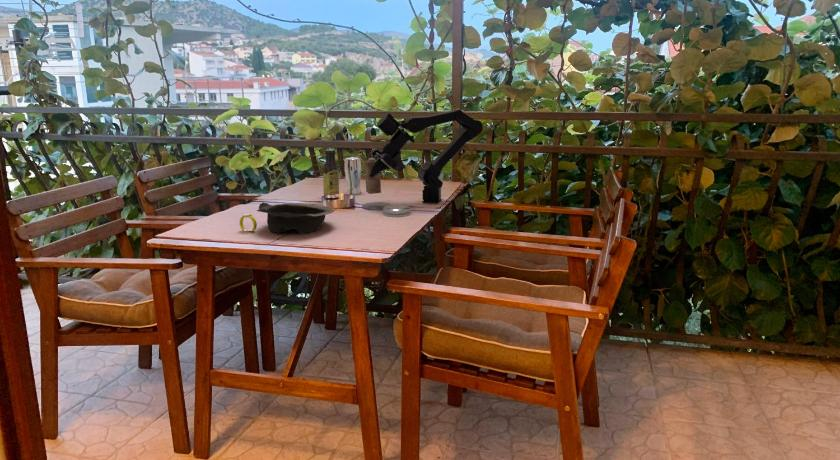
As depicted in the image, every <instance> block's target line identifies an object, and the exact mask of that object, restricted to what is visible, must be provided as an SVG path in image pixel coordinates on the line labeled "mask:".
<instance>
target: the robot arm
mask: <svg viewBox="0 0 840 460" xmlns="http://www.w3.org/2000/svg"><path fill="white" fill-rule="evenodd" d="M450 122H456V123H457V124H459V125H460V129H459V131H458V133H457V135H456V136H455V137H454V138H453V140H452V141H451V142H449V144H448V145H447V146H446V147H445V148H444V149H443V150H442V151H441V152H440V154H439V155H437V156H436V158H434V160H432V161H428V160H426V161H425V162H424V163H423V164H422V166H420V167H419V171H418V173H417V174H418V175H417V176H418V179H419V180H420V181H421V182H422V185H423V189H422V203H426V204H439V203H440V202H442V201H443V198H442V187H443V185H444V182H443V181H442V180H441V179H440V178H439V177H440V176H441V174H442V171H443V169H444V168H445V167H446V165H447V164H448V163H449V162H450V161H451V160H452V159H453V157H455V155H457V154H458V152H459V151H461V149H462V148H463V147H464V146H465V145H466V144H467V142H469V141H472V140H474V139H475V138H476V137H478V136H479V135H481V134H482V133H483V130H484V125H483V123H482V122H481V120H479V119H474V118H472V117H471V116H470V115H469V114H468V115H467V114H466V113H465V112H464V111H462V110H461V109H456V108H455V109H452V110H448V111H444V112H439V113H436V114H431V115H426V116H425V115H423V116H417V115H415V116H407V117H405V118H404V120H399V121H397V119H395V117H394V116H393V115H392V114H391V113H389V112H387V113H386V114H385V115H383V116H382V117H381V118H379V120H377V123H376V125H375V126H376V127H377V129H379V130H380V131H381V132H382V133H383V134H384V135H385V136H386V137H389V136H391V137H390V139H389V140H386V141H385V142H384V143H385V144H384V146H383V147H382V148H379V149H378V148H373V149H372V150H370V152H369V153H370V154H371V155H370V156H371V157H370V158H375V160H376V162H375V164H374V166H373V169H372V171H371V174H370V176H371V177H373V176H375V175H376V174H378V173H379V172H380V173H381V172H382V171H384V170H391V169H393V170H395V171H396V172H398V173H399V172H402V171H403V170H405V169H406V166H405V164H404V162H403V159H402V158H401V154H402V152H401V150H402V149H403V148H404V147H405V146H406V144H407V143H408V142H410V143H411V144H414V143H415V135H413V134H417V133H419V132H421V131H424V130H426V129H427V128H429V127H433V126H437V125H441V124H446V123H450ZM402 129H404V130H402ZM410 133H412V134H410Z"/></svg>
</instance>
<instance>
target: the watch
mask: <svg viewBox="0 0 840 460" xmlns="http://www.w3.org/2000/svg"><path fill="white" fill-rule="evenodd" d="M244 218H249V219H250V220H251V221H252V225H253V227H252V231H253V232H254V230H255V231H256V229H257V226H258V225H257V221H256V220H257V219H256V217H254V215H252V213H243V214H242V216H241V217H240V219H239V226H240V229H241V230H242V231H243V230H244V229H247V228H246V227H245V225H244Z"/></svg>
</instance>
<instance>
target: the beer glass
mask: <svg viewBox="0 0 840 460" xmlns="http://www.w3.org/2000/svg"><path fill="white" fill-rule="evenodd" d="M344 174H345V178H346V185H347V186H346V187H347V189H346V194H347V193H348V194H347V195H349V194H353V195H352V196H355V195H360V194H362V189H361V178H362V162H361V157H357V156H351V157H345V158H344Z"/></svg>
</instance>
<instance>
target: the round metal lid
mask: <svg viewBox="0 0 840 460" xmlns="http://www.w3.org/2000/svg"><path fill="white" fill-rule="evenodd" d="M382 214H383V215H384V216H386V217H391V218H400V217H401V218H403V217H407V216H410V215H411V206H409V205H406V204H390V206H385V207H384V208H383V210H382Z"/></svg>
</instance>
